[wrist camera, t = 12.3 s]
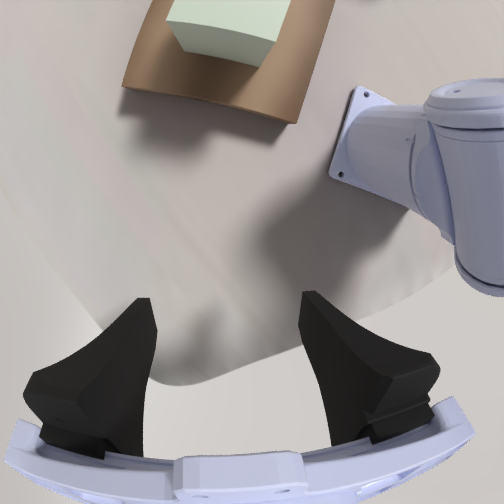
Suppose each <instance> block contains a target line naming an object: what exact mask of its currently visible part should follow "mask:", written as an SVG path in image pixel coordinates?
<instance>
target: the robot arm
mask: <svg viewBox="0 0 504 504" xmlns="http://www.w3.org/2000/svg"><path fill="white" fill-rule="evenodd" d="M364 92H366V93H367V97H365V96H364ZM339 172H342V173H343V174H342V176H341V177H339V176H338V174H339ZM328 173H329V175H330V177H332V178H334V179H336V180H339V181H342V182H345V183H347V184H350V185H353V186H356V187H358V188H361V189H364V190H366V191H369V192H371V193H374V194H376V195H379V196H381V197H384V198H386V199H389V200H391V201H394V202H396V203H398V204H401V205H403V206H405V207H407V208H409V209H411V210H412V211H414V212H416V213H417V214H419V215H420V216H422V217H424V218H425V219H427V220H429V221H430V222H432V223H433V224H435V225H436V226H437V227H438V228H439V230H440V232H441V236H442V237H443V238H444V239H446V240H447V241H448V242H450V243H451V244H453V245H455V247H454V258H455V264H456V267H457V270H458V272H459V273H460V275H461V277H462V278H463V279H464V280H465V281H466V283H468V284H469V285H470V286H471V287H472V288H474V289H476V290H478V291H479V292H482V293H484V294H487V295H491V296H495V297H504V78H478V79H470V80H464V81H459V82H454V83H450V84H447V85H444V86H441V87H439V88H437V89H435V90H433V91H432V92H431V93H430V95H429V97H428V99H427V101H426V102H425V103H424V105H407V104H405V105H396V104H394V103H392V102H391V101H389V100H387V99H385V98H384V97H382V96H380V95H378V94H376V93H374V92H372V91H370V90H368V89H366V88H364V87H362V86H357V87H355V89H354V91H353V94H352V98H351V101H350V105H349V108H348V111H347V115H346V118H345V121H344V124H343V128H342V131H341V134H340V137H339V140H338V144H337V147H336V150H335V153H334V156H333V159H332V162H331V165H330V168H329V172H328ZM298 326H299V330H300V335H301V338H302V342H303V345H304V348H305V350H306V353H307V355H308V358H309V360H310V363H311V365H312V368H313V370H314V373H315V375H316V378H317V381H318V384H319V387H320V391H321V395H322V399H323V403H324V408H325V412H326V417H327V422H328V427H329V433H330V439H331V445H332V447H329V448H324V449H320V450H315V451H310V452H305V453H297V452H292V451H271V452H262V453H251V454H236V455H197V456H185V457H182V458H179V459H177V460H163V459H153V458H144V457H143V414H144V401H145V392H146V385H147V381H148V377H149V373H150V369H151V365H152V361H153V357H154V353H155V348H156V340H157V327H156V323H155V319H154V315H153V310H152V306H151V302H150V298H137V299H136V300H135V301H134V302H133V303H132V304H131V305H130V306H129V307H128V308H127V309H126V310H125V311H124V312H123V313H122V314H121V315H120V316H119V317H118V318H117V319H116V320H115V321H114V322H113V323H112V324H111V325H110V326H109V327H108V328H107V329H106V330H104V331H103V332H102V333H101V334H100V335H99V336H98V337H97V338H95V339H94V340H93V341H91V342H90V343H89V344H87V345H86V346H85V347H83V348H81V349H80V350H78V351H77V352H75V353H74V354H72V355H70V356H69V357H67V358H65V359H63V360H61V361H59V362H57V363H55V364H53V365H51V366H48V367H46V368H43V369H41V370H38V371H35V372H33V374H32V376H31V378H30V380H29V382H28V384H27V386H26V388H25V390H24V392H23V397H24V400H25V402H26V404H27V405H28V406H29V408H30V409H31V410H32V411H33V412H34V413H35V415H36V416H37V417H38V418H39V419H40V420H41V421H42V422H43V426H42V429H41V428H40V427H38V426H37V425H35V424H32V423H29V422H27V421H24V420H21V419H18V420H17V423H16V426H15V428H14V431H13V433H12V436H11V439H10V442H9V445H8V448H7V451H6V454H5V457H4V461H5V462H6V463H7V464H8V465H10V466H11V467H12V468H14V469H15V470H16V471H18V472H19V473H21V474H22V475H24V476H25V477H27V478H28V479H30V480H31V481H33V482H34V483H36V484H38V485H40V486H42V487H45V488H47V489H49V490H51V491H54V492H56V493H58V494H61V495H63V496H66V497H68V498H71V499H74V500H76V501H79V502H82V503H84V504H358V502H360V501H363V500H366V499H368V498H371V497H373V496H376V495H378V494H380V493H383V492H385V491H388V490H390V489H392V488H394V487H396V486H398V485H400V484H403V483H405V482H407V481H409V480H411V479H413V478H415V477H416V476H418V475H420V474H422V473H424V472H426V471H428V470H429V469H431V468H433V467H435V466H437V465H438V464H440V463H442V462H443V461H445V460H446V459H448V458H449V457H451V456H452V455H453V454H454V453H455V452H456V451H458V450H459V449H460V448H461V447H463V446H464V445H465V444H466V443H467V442H468V441H469V440H470V439H471V438H473V437H474V436H475V435H476V432H475V430H474V429H473V427H472V425H471V423H470V422H469V420H468V419H467V417H466V415H465V414H464V412H463V410H462V409H461V407H460V406H459V404H458V403H457V401H456V399H455V398H454V396H451V397H449V398H447V399H445V400H443V401H441V402H439V403H437V404H435V405H434V406H432V407H431V408H430V406H429V404H428V403H429V402H430V398H429V396H428V392H429V391H430V389H431V388H432V387H433V385H434V384H435V382H436V380H437V379H438V377H439V373H440V366H439V365H438V364H437V362H436V361H435V359H434V358H433V357H432V355H431V354H430V353H427V352H422V351H418V350H414V349H410V348H407V347H404V346H402V345H399V344H396V343H394V342H391V341H389V340H387V339H384V338H382V337H380V336H378V335H376V334H374V333H372V332H371V331H369V330H367V329H365V328H364V327H362V326H360V325H359V324H357V323H356V322H354V321H353V320H351V319H350V318H349V317H347V316H346V315H344V314H343V313H342V312H341V311H339V310H338V309H337V308H335V307H334V306H333V305H332V304H331V303H329V302H328V301H327V300H326V299H325V298H323V297H322V296H321V295H320V294H318V293H317V292H316V291H305V292H303V293H302V301H301V308H300V315H299V323H298Z"/></svg>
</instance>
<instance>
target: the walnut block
mask: <svg viewBox="0 0 504 504" xmlns="http://www.w3.org/2000/svg"><path fill="white" fill-rule="evenodd" d="M173 3H174V0H153V1H152V3H151V6H150V8H149V10H148V12H147V15H146V17H145V19H144V22H143V24H142V27H141V29H140V32H139V34H138V37H137V40H136V42H135V45H134V48H133V51H132V54H131V57H130V60H129V63H128V66H127V69H126V72H125V76H124V79H123V83H122V87H125V88H129V89H132V90H139V91H147V92H155V93H162V94H168V95H174V96H180V97H186V98H191V99H196V100H201V101H206V102H211V103H215V104H220V105H224V106H228V107H232V108H236V109H240V110H244V111H248V112H252V113H255V114H259V115H262V116H266V117H269V118H272V119H275V120H279V121H282V122H285V123H288V124H297V120H298V117H299V114H300V111H301V108H302V105H303V102H304V98H305V95H306V92H307V89H308V86H309V83H310V79H311V76H312V73H313V70H314V67H315V64H316V60H317V57H318V54H319V51H320V48H321V45H322V41H323V38H324V35H325V32H326V29H327V26H328V22H329V19H330V16H331V13H332V10H333V6H334V3H335V0H291V2H290V4H289V7H288V10H287V12H286V15H285V18H284V21H283V23H282V26H281V29H280V32H279V35H278V37H277V40H276V43H275V44H274V46H273V47H272V49H271V50H270V52H269V53H268V55H267V57H266V58H265V60H264V61H263V63H262V65H261V66H260V68H259V67H256V66H252V65H248V64H244V63H240V62H236V61H232V60H228V59H223V58H219V57H214V56H209V55H203V54H197V53H191V52H185V51H184V50H183V48H182V47H181V45H180V43H179V42H178V40H177V38H176V37H175V35H174V33H173V32H172V30H171V28H170V27H169V25H168V23H167V22H166V18H167V16H168V14H169V11H170V9H171V7H172V5H173Z"/></svg>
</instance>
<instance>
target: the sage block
mask: <svg viewBox="0 0 504 504" xmlns="http://www.w3.org/2000/svg"><path fill="white" fill-rule="evenodd" d="M290 2H291V0H174V3H173V5H172V7H171V9H170V11H169V14H168V16H167V18H166V22H167V23H168V25H169V27H170V28H171V30H172V32H173V33H174V35H175V37H176V38H177V40H178V42H179V43H180V45H181V47H182V48H183V50H184V51H185V52H191V53H197V54H203V55H209V56H214V57H219V58H223V59H228V60H232V61H236V62H240V63H244V64H248V65H252V66H256V67H259V68H260V66H261V65H262V63H263V61H264V60H265V58H266V57H267V55H268V53H269V52H270V50H271V49H272V47H273V46H274V44H275V43H276V40H277V37H278V35H279V32H280V29H281V26H282V23H283V21H284V18H285V15H286V12H287V10H288V7H289V4H290Z"/></svg>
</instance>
